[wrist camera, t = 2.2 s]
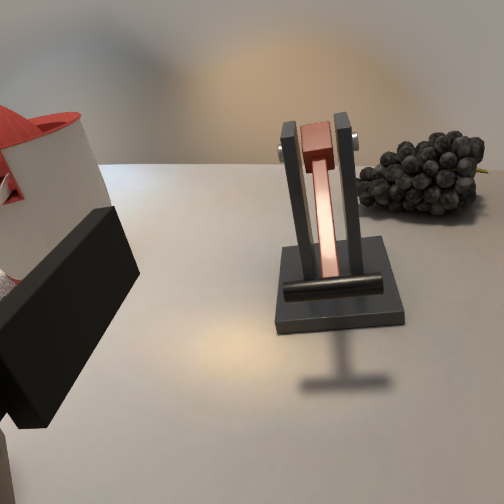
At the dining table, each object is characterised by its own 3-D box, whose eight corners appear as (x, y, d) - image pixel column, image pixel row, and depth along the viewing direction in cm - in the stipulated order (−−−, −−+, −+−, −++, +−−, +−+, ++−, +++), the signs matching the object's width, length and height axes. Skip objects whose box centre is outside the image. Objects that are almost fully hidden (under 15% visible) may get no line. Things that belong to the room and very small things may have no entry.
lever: (383, 301, 27) (384, 284, 25) (287, 310, 28) (281, 294, 26) (355, 139, 34) (355, 116, 32) (281, 151, 35) (275, 129, 33)
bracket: (405, 324, 33) (398, 135, 26) (277, 334, 35) (238, 161, 28) (382, 246, 43) (373, 95, 36) (284, 257, 45) (257, 116, 38)
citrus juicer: (-31, 326, 46) (-153, 144, 36) (38, 247, 61) (-36, 104, 51) (108, 301, 45) (20, 105, 35) (143, 227, 60) (88, 76, 50)
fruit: (333, 139, 47) (490, 126, 39) (356, 139, 54) (493, 128, 46) (334, 217, 49) (484, 220, 41) (356, 207, 56) (488, 208, 48)
